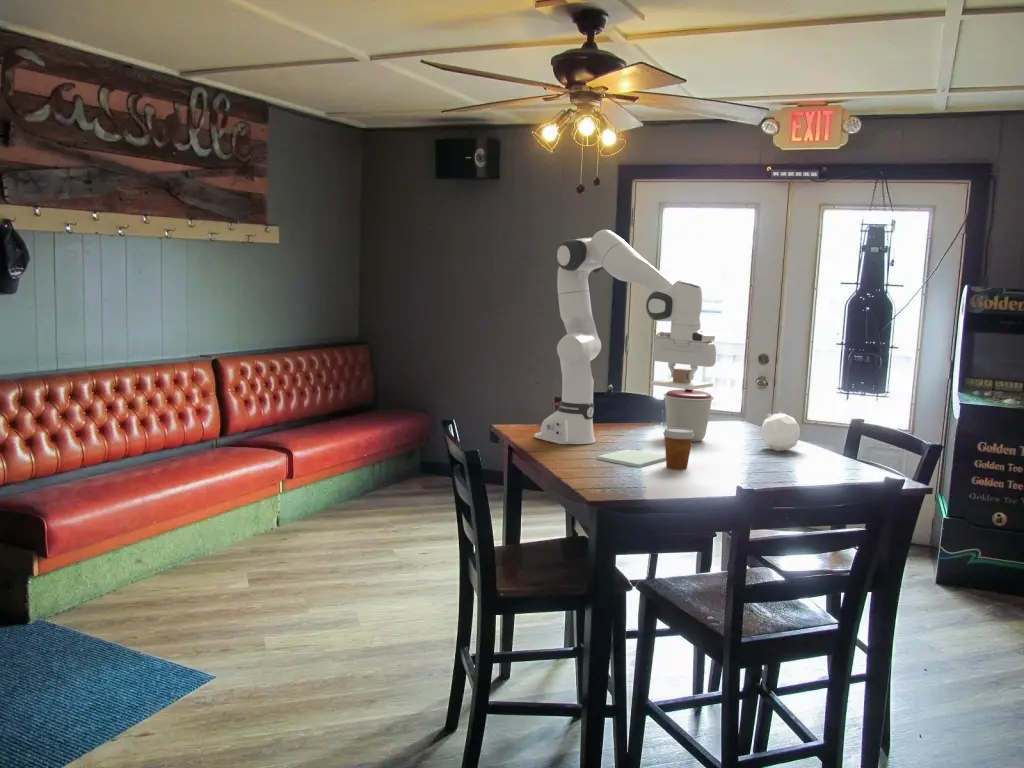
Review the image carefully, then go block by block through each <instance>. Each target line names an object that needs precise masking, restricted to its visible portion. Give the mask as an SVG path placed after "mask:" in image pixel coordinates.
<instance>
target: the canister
mask: <svg viewBox="0 0 1024 768" xmlns="http://www.w3.org/2000/svg"><path fill="white" fill-rule="evenodd" d="M663 397H664V400H665V401H664V402H665V420H666V428H686V429H690V430H693V434H694V436H693V439H692V443H697V442H701V441H703V440H704V438H705V436H706V434H707V428H708V422H709V418H710V411H711V407H712V401H713V400H714V396H713V395H711V394H710V393H708V392H705V391H701V390H696V389H693V390H689V389H671V390H668V391H666V392H665V393H663Z"/></svg>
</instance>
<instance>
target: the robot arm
mask: <svg viewBox="0 0 1024 768" xmlns="http://www.w3.org/2000/svg"><path fill="white" fill-rule="evenodd" d="M555 259H556V262H557V264H558V269H557V282H556V283H557V284H556V285H557V296H558V297H557V298H558V306H559V314H560V318H561V320H562V322H563V324H564V328H565V330H566V334H565V335H564V336H563V337H562V338H561V339H560V340H559V341H558V343H557V346H556V352H557V355H558V357H559V362H560V370H561V377H562V379H561V381H562V386H561V400H560V401H558V402H555V403H554V404H555V405H554V406H555V407H557V409H556V411H555V412H553V413H552V414H550V415H549V416H548V417H547V418H544V420H543V421H542V423H541V425H540V427H541V428H540V432H536V433H534V435H533V438H536V439H539V440H543V441H547V442H551V443H555V444H558V445H588V444H594V443H596V438H595V433H594V423H593V422H594V421H593V420H594V419H593V417H594V412H595V411H594V410H595V405H594V404H595V403H594V385H595V383H594V382H595V380H594V377H593V374H592V366H591V361H593V360H594V359H596V358H597V356H598V355H599V354H600V352H601V350H602V342H601V339H600V338H599V336H598V331H597V328H596V323H595V321H594V316H593V312H592V311H593V310H592V303H591V296H590V295H591V293H590V287H589V275H590V273H592V272H593V273H595V274H596V273H598V272H599V271H601V270H603V269H604V270H605V271H606V272H607V273H608V274H610V276H612V277H613V278H615V279H617V280H618V281H622V282H628V283H633V284H637V285H640V286H644V287H646V288H648V289H649V290H651V291H652V292H651V294H649V295H648V297H647V298H646V302H645V309H646V314H647V315H648V316H649V318H650V319H652V320H653V321H657V322H670V332H664V331H660V332H659V333H656V334H655V336H654V346H653V352H652V359H653V361H654V362H659V363H660V362H661V363H668V365H667V366H668V369H669V370H670V371H669V372H670V379H672V378H673V372H674V369H676V368H675V367H676V365H689V367H690V370H691V372H690V373H689V374H687V379H688V380H691V381H694V376H695V374H696V373H697V370H698V368H699V367H706V368H711V367H714V365H716V359H717V350H716V344H715V343H714V342H715V340H716V338H715V337H716V336H715V335H714V334H713V333H711V332H708V331H707V330H704V329H702V328H701V321H700V319H701V316H700V315H701V313H702V306H703V305H702V304H703V294H702V293H703V291H702V288H701V285H700V284H698V283H697V282H694V281H691V280H682V279H681V280H677V281H675V282H673V281H672V280H671V279H670V278H668V277H667V276H666V275H664V273H662V272H661V271H660V270H659V269H657V268H656V267H655V266H654V265H652V264H651V263H649V262H648V261H647V260H646V259H645V258H644V257H642V256H641V255H640V254H639V253H638V252H637V251H636V250H635V249H634V248H633V247H632V246H631V245H629V243H628V242H626V241H625V239H623V238H622V237H621V236H619V234H616V233H615V232H613V231H611V230H610V229H601V230H599V231H597V232H596V233H595V234H593V236H592V237H583V238H576V239H574V238H571V239H567V240H564V241H562V242H560V243H559V244H558V246H557V247H556V251H555Z"/></svg>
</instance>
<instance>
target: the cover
mask: <svg viewBox="0 0 1024 768" xmlns="http://www.w3.org/2000/svg"><path fill="white" fill-rule="evenodd" d="M691 370H692V369H691V368H690V369H688V368H680V367H679V368H675V369H674V372H673V378H666V379H658V380H653V381H652V380H651V381H650V384H649V385H651V386H657V387H658V386H659V387H667V388H675V389H680V390H685V389H689V390H698V389H699V390H700V389H705V388H711V387H713V386H714V383H713V382H706V381H697V380H688V379H687V374H689V373H690V372H691Z"/></svg>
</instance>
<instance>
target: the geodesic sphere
mask: <svg viewBox="0 0 1024 768" xmlns="http://www.w3.org/2000/svg"><path fill="white" fill-rule="evenodd" d="M766 417H767V418H765V419H764V420H763V422H762V426H761V427H760V436H761V440H762V441H763V442H764V444H765V446H766V447H767V448H769V449H771V450H773V451H776V452H781V451H782V452H784V450H785V451H789V450H790V449H792V448H793V447H795V446H796V445H797V444H798V441H799V440H800V439H799V438H800V436H801V431H800V425H799V424H798V423H797V421H796V419H795V418H794V417H793V416H790V415H788V413H787V414H786V413H784V412H782V411H779V412H778V413H767V415H766Z"/></svg>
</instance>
